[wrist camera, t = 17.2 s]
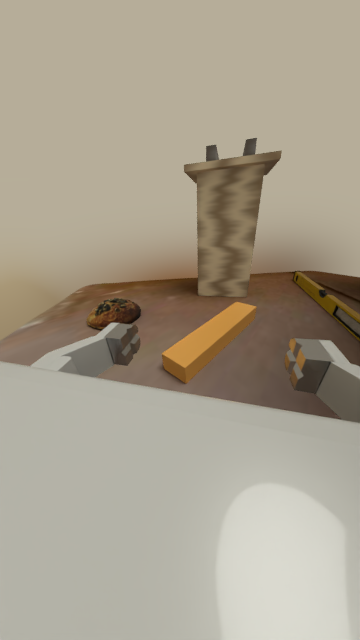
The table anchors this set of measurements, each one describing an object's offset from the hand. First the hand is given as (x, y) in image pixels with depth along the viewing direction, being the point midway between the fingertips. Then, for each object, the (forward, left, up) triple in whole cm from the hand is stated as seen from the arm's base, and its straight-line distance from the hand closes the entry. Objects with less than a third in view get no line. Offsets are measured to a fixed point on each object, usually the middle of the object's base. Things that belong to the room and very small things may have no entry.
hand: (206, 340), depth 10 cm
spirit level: (-21, -33, -12) cm, 41 cm away
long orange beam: (0, -16, -12) cm, 20 cm away
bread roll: (+22, -21, -12) cm, 33 cm away
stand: (0, -39, -11) cm, 41 cm away
